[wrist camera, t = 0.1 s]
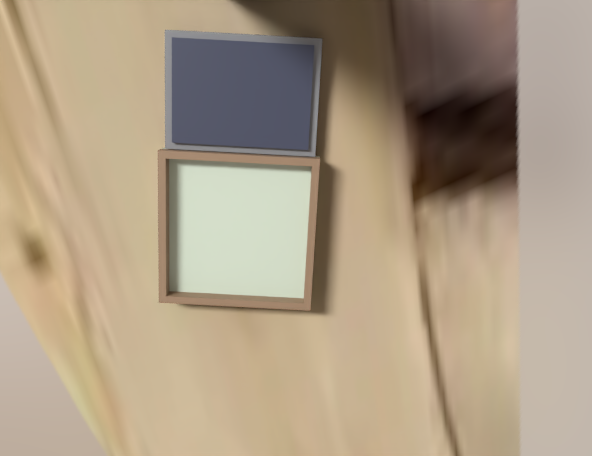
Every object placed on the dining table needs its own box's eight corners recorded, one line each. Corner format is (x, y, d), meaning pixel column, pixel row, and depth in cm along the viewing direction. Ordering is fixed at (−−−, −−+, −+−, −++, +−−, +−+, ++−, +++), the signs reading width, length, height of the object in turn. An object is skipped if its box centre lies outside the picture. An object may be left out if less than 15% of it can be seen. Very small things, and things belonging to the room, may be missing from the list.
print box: (164, 147, 38) (157, 150, 36) (319, 156, 38) (320, 159, 36) (165, 293, 40) (158, 302, 39) (309, 301, 40) (310, 310, 39)
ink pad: (168, 31, 36) (163, 29, 35) (321, 39, 36) (322, 38, 35) (168, 147, 38) (164, 149, 36) (314, 155, 38) (315, 157, 37)
